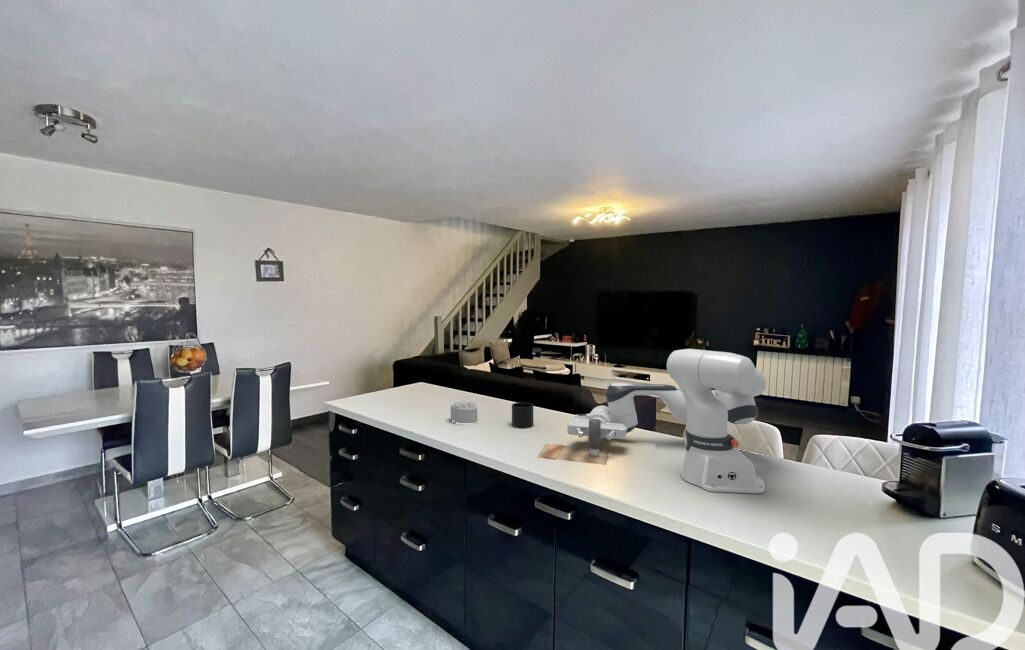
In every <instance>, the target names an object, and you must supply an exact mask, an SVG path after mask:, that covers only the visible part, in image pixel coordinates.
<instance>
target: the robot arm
mask: <svg viewBox="0 0 1025 650" xmlns="http://www.w3.org/2000/svg"><path fill="white" fill-rule="evenodd" d="M666 370H667V374H668V375H669V377H670V378H671V379H672V380H673V381H674V382H675V383H676V384H677V386H678V387H679V389H680V390H679V389H678V388H677V387H676V386H674V385H673V384H672V385H670V384H660V383H659V384H658V383H627V382H626V383H625V382H614V383H611V384H608V385H609V386H607V388H606V390H605V392H604V395H605V400H606V402H607V406H606V405H598V406H596V407H594V408H592V410H591V411H590V413H583V414H575V415H574V418H572V419H570V420H569V421H568V423H567V427H566V428H567V431H566V432H567V434H568V435H572V436H578V438H584V437H589V420H591V419H597V420H600V421H601V439H603V438H606V440H607V441H610V440H612V439H616V440H618V439H619V440H625V439H626V438H627V433H630V432H632V431H633V430H634V429H636V427H637V426H638V424H639V423H638V422H639V421H638V417H637V411H636V406H635V405H636V404H635V401H634V400H635V399H634V397H635V396H656V397H658V398H660V400H661V401H662V402H663V403H664V405H665V407H666V408H667V410H668V412H670V414H671V415H672V416H673V418H675V419H676V420H678V421H679V422H683V423H686V426H687V429H686V430H685V435H684V447H685V455H684V461H683V465H682V469H681V472H680V477H681V478H682V479H683V480H684V481H686V482H688V483H689V484H692V485H695V486H697V487H700V488H702V489H703V490H706V491H707V492H716V493H738V494H739V493H740V494H763V493H765V492H766V484H765V482H764V480H763V479H762V478H761V477H760V476H758V475H757V471H756V469H755V466H754V464H753V462H752V461H751V460H750V458H749V457H747V456H746V455H744V454H743V453H742V452H741V451H739V450H738V449H737V448H738V447H740V442H739V441H738V440H737V439H736V438H735V437H734V436H732V434H730V433H728V429H729V428H728V426H729V425H728V424H729V423H731V424H732V425H742V426H743V425H747V424H750V423H752V422H753V421H755V420H757V418H758V417H759V409H758V406H757V405H756V400H755V398H754V397H757V396H760V395H762V393H764V391H765V390H766V387H767V379H766V377H765V375H764V374H763V373H762V372H761V371H760V370H759V369H758V368H756V367H755V364H754V363H753V361H752V360H751V358H749V357H747V356H744V355H741V354H738V353H737V354H736V353H734V352H733V353H732V352H728V351H726V352H725V351H719V350H718V351H717V350H715V351H714V350H707V349H695V348H684V349H677V350H673V351H672V352H671V353H670V354H669V356H668V358H667V361H666Z"/></svg>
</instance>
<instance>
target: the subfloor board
mask: <svg viewBox="0 0 1025 650" xmlns="http://www.w3.org/2000/svg"><path fill="white" fill-rule="evenodd" d="M609 454H610V449H601V448H599V457H591V456H590V448H589V447H581V446H572V445H571V446H570V445H564V444H557V443H556V444H555V443H552V444H549V443H545V444H544V446H543V447H542V449H541V450H540V452H539V453H538V455H537V456H536V458H539V459H547V460H556V461H557V460H558V461H565V462H566V461H567V462H576V463H585V464H593V465H594V464H595V465H603V466H604V465H605V466H606V465H607V463H608V459H609Z"/></svg>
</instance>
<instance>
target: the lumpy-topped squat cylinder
mask: <svg viewBox="0 0 1025 650" xmlns="http://www.w3.org/2000/svg"><path fill="white" fill-rule="evenodd" d="M451 420H453V421H455V422H458V423H475V422H477V423H478V406H477V405H476V404H475V402H474V401H472V400H471V401H469V402H467V401H466V400H462V401H461V400H460V401H456V402H454V403H452V404H450V421H451Z"/></svg>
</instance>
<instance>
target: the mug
mask: <svg viewBox="0 0 1025 650" xmlns="http://www.w3.org/2000/svg"><path fill="white" fill-rule="evenodd" d="M512 425H513V426H514V427H513V426H512ZM511 426H512V427H513V428H516V427H518V428H517V429H528V428H532V427H534V404H533V403H531V402H523V401H522V402H515V403H512V404H511Z"/></svg>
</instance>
